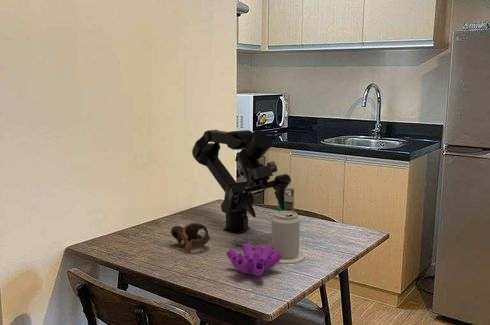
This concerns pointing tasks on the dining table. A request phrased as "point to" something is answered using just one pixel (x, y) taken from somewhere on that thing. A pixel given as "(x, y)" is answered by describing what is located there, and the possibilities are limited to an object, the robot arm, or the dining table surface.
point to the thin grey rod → (243, 244)
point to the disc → (293, 259)
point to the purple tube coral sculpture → (254, 258)
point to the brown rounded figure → (190, 235)
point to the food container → (288, 200)
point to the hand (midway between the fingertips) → (269, 213)
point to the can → (286, 233)
